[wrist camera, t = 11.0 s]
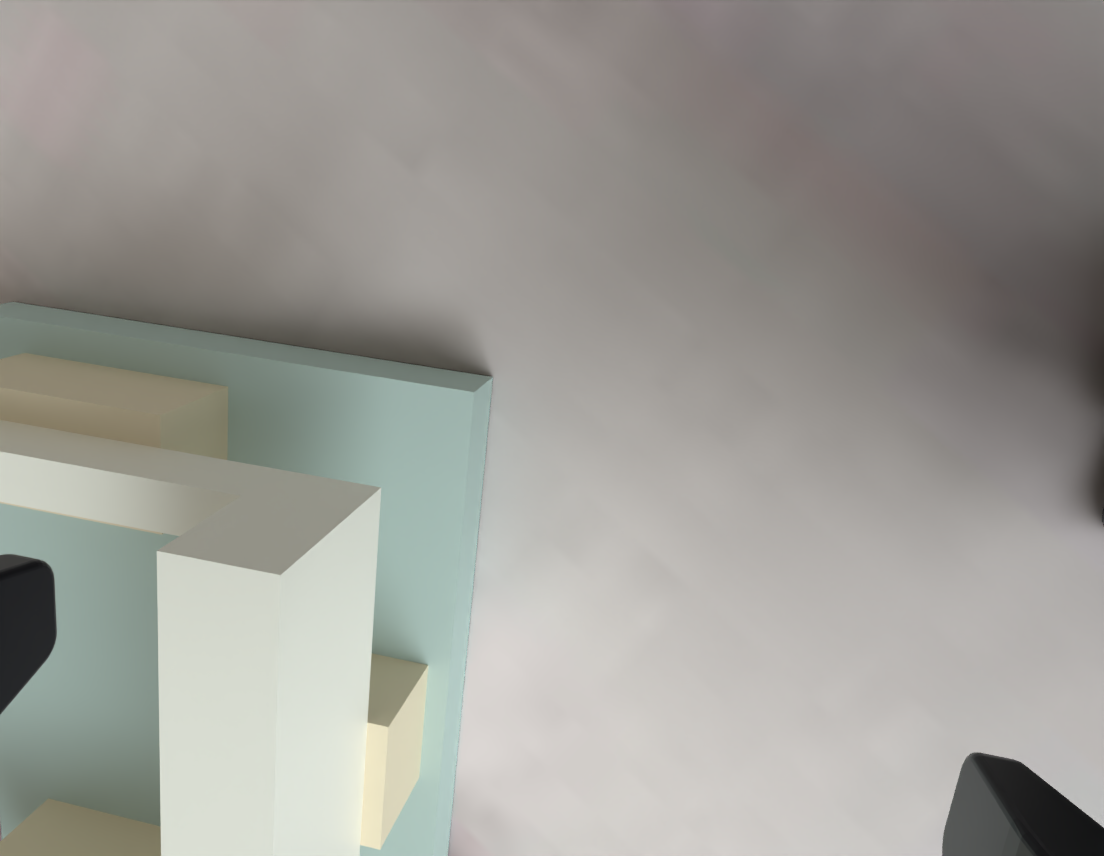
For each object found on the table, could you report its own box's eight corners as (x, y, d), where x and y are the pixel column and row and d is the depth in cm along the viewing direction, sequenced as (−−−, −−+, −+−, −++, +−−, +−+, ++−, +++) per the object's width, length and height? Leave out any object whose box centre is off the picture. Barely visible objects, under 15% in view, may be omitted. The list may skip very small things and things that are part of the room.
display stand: (492, 377, 21) (436, 423, 17) (438, 951, 25) (384, 1088, 22) (13, 302, 23) (-134, 328, 19) (43, 848, 27) (-70, 957, 23)
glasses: (381, 487, 18) (280, 574, 14) (349, 1024, 21) (263, 1209, 17) (-83, 405, 19) (-288, 463, 15) (-38, 918, 23) (-193, 1066, 19)
